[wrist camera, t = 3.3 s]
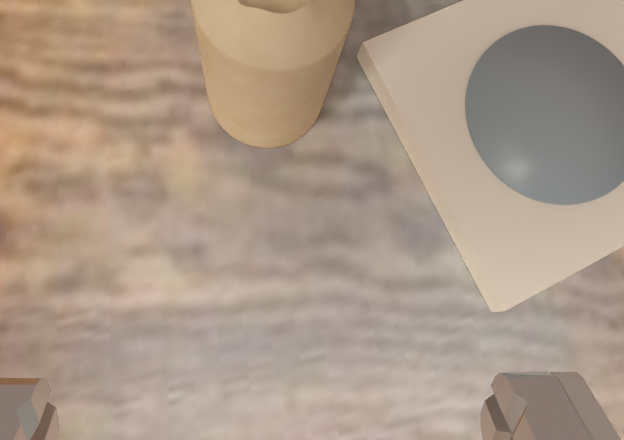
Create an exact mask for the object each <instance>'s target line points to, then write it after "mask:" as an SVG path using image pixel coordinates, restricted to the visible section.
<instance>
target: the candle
mask: <svg viewBox="0 0 624 440" xmlns="http://www.w3.org/2000/svg"><path fill="white" fill-rule="evenodd" d="M191 7H192V13H193V18H194V24H195V29H196V35H197V41H198V46H199V52H200V57H201V63H202V69H203V74H204V80H205V85H206V91H207V96H208V101H209V104H210V108H211V111H212V113H213V115H214V117H215V119H216V120H217V122H218V123H219V125H220V126H221V127H222V128H223V129H224V130H225V131H226V132H227V133H228V134H229V135H230V136H232V137H233V138H234V139H236V140H238V141H240V142H241V143H244V144H246V145H249V146H253V147H258V148H276V147H281V146H285V145H287V144H290V143H292V142H294V141H296V140H298V139H299V138H300V137H302V136H303V135H304V134H305V133H306V132H307V131H308V130H309V129H310V128H311V127H312V126H313V124H314V123H315V121H316V119H317V118H318V116H319V113H320V111H321V108H322V106H323V103H324V100H325V97H326V94H327V92H328V89H329V86H330V83H331V80H332V77H333V74H334V72H335V69H336V66H337V63H338V60H339V57H340V55H341V52H342V49H343V46H344V43H345V40H346V37H347V35H348V32H349V29H350V26H351V23H352V20H353V16H354V11H355V0H191Z"/></svg>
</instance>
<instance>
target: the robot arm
mask: <svg viewBox="0 0 624 440" xmlns="http://www.w3.org/2000/svg"><path fill="white" fill-rule="evenodd" d="M491 387H492V389H493V392H494V395H492V396H491V397H489V398H488V399H487V400H485V402H484V405H483V407H482V410H481V431H482V436H483V440H621V439H620V438H619V436H618V434H617V433H616V431H615V429H614V428H613V426H612V424H611V423H610V421H609V420H608V418H607V416H606V415H605V413H604V411H603V410H602V408H601V406H600V405H599V403H598V401H597V400H596V398H595V397H594V395H593V393H592V392H591V390H590V388H589V387H588V385H587V383H586V382H585V380H584V378H583V377H582V376H581V375H579V374H578V373H577V372H551V373H548V372H519V373H499V374H498V375H497V376H495V378H494V380H493V382H492V384H491ZM50 393H51V389H50V387H49V384H48V381H47V379H42V378H0V440H57V438H58V431H59V423H58V414H57V410H56V407H54V406H53V405H52V404H50V403H49V402H47V401H48V398H49V395H50Z"/></svg>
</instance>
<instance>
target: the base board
mask: <svg viewBox="0 0 624 440" xmlns="http://www.w3.org/2000/svg"><path fill="white" fill-rule="evenodd" d="M356 57H357V59H358V61H359V63H360V65H361V67H362V69H363V71H364V72H365V74H366V76H367V78H368V80H369V82H370V84H371V86H372V88H373V89H374V91H375V93H376V95H377V97H378V99H379V101H380V103H381V105H382V107H383V108H384V110H385V112H386V114H387V116H388V118H389V120H390V122H391V124H392V125H393V127H394V129H395V131H396V133H397V135H398V137H399V139H400V141H401V143H402V144H403V146H404V148H405V150H406V152H407V154H408V156H409V158H410V160H411V162H412V163H413V165H414V167H415V169H416V171H417V173H418V175H419V177H420V179H421V180H422V182H423V184H424V186H425V188H426V190H427V192H428V194H429V196H430V198H431V199H432V201H433V203H434V205H435V207H436V209H437V211H438V213H439V215H440V216H441V218H442V220H443V222H444V224H445V226H446V228H447V230H448V232H449V234H450V235H451V237H452V239H453V241H454V243H455V245H456V247H457V249H458V251H459V252H460V254H461V256H462V258H463V260H464V262H465V264H466V266H467V268H468V270H469V271H470V273H471V275H472V277H473V279H474V281H475V283H476V285H477V287H478V288H479V290H480V292H481V294H482V296H483V298H484V300H485V302H486V304H487V306H488V307H489V309H490V311H491V312H492V311H506V310H508V309H510V308H512V307H514V306H515V305H517V304H519V303H521V302H523V301H525V300H526V299H528V298H530V297H532V296H534V295H536V294H537V293H539V292H541V291H543V290H545V289H547V288H548V287H550V286H552V285H554V284H556V283H557V282H559V281H561V280H563V279H565V278H567V277H568V276H570V275H572V274H574V273H576V272H578V271H579V270H581V269H583V268H585V267H587V266H589V265H590V264H592V263H594V262H596V261H598V260H600V259H601V258H603V257H605V256H607V255H609V254H611V253H612V252H614V251H616V250H618V249H620V248H622V247H623V246H624V0H462V1H460V2H458V3H455V4H453V5H450V6H448V7H446V8H443V9H441V10H438V11H436V12H434V13H431V14H429V15H426V16H424V17H422V18H419V19H417V20H414V21H412V22H410V23H407V24H405V25H402V26H400V27H398V28H395V29H393V30H390V31H388V32H386V33H383V34H381V35H378V36H376V37H374V38H371V39H369V40H366V41H364V42H362V44H361V47H360V49H359V52H358V54H357V56H356Z"/></svg>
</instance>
